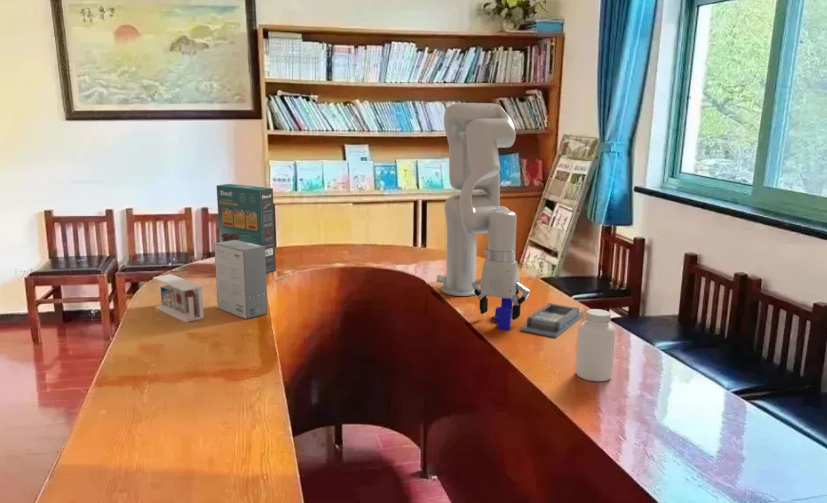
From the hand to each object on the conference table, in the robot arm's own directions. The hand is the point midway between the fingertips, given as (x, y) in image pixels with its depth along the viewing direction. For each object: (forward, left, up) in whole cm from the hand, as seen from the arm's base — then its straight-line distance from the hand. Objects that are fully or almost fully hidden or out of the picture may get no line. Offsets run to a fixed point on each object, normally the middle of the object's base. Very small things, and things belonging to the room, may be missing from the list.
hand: (499, 315), depth 188 cm
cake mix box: (-103, +5, -2) cm, 103 cm away
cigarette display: (-81, -43, -3) cm, 92 cm away
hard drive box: (-67, -32, -2) cm, 75 cm away
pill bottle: (+34, -22, -2) cm, 40 cm away
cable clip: (+1, +1, -3) cm, 3 cm away
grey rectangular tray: (+13, +8, -2) cm, 15 cm away
